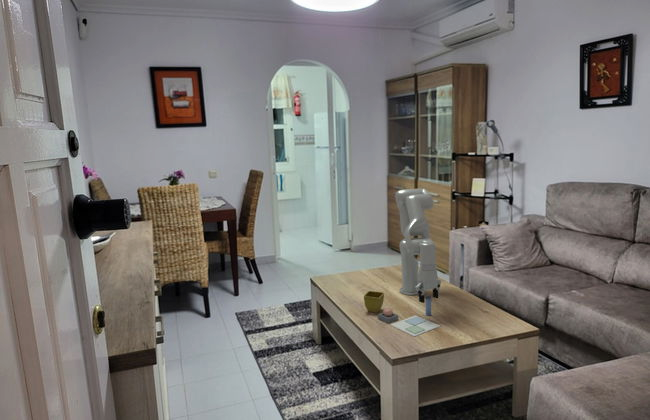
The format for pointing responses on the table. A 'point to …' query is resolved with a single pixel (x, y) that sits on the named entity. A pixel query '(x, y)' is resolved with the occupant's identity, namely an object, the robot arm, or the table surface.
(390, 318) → the button collar
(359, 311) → the table surface
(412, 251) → the robot arm
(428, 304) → the cylinder
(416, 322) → the sheet
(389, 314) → the button
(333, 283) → the table surface
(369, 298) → the flower pot
